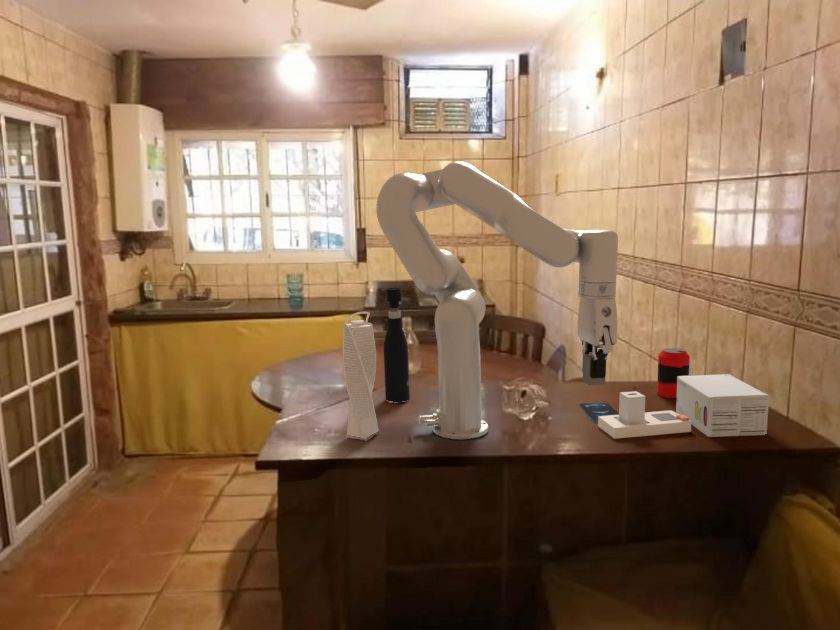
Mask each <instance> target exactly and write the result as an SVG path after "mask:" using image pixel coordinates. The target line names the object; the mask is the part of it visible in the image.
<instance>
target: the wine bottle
mask: <svg viewBox="0 0 840 630" xmlns="http://www.w3.org/2000/svg"><path fill="white" fill-rule="evenodd" d="M385 291H386V294H385V295H386V302H387V303H388V302H389V306H388V308H389V310H388V318H387V330H386V333H385V336H384V342H383V363H384V366H383V368H384V370H383V371H384V393H385V394H384V395H385V401H386V400H388V401H393V402H402V401H407V400H409V399H410V374H409V373H410V372H409V371H410V370H409V364H410V363H409V346H408V340H407V338H406V337H407V336H406V333H405V332H404V329H403V318H402V315H401V310H399V309H400V302H401V301H402V288H401V287H388V288H386V289H385ZM410 400H411V399H410ZM410 400H409V401H410Z"/></svg>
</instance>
